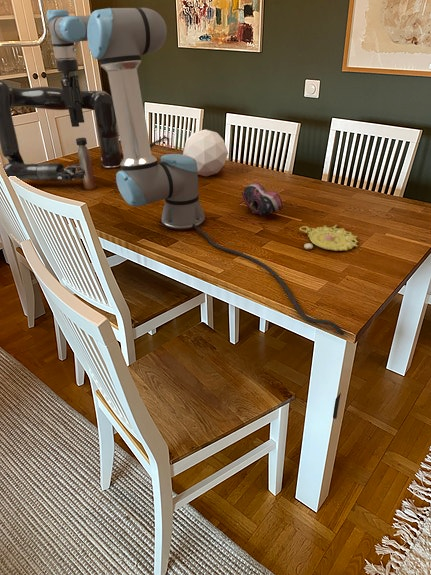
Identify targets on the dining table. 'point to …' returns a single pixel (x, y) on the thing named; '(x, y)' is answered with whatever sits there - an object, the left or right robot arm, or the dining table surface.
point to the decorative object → (330, 238)
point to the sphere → (206, 151)
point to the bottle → (86, 167)
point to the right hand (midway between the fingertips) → (78, 124)
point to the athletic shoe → (261, 200)
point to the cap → (81, 141)
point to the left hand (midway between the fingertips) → (87, 172)
